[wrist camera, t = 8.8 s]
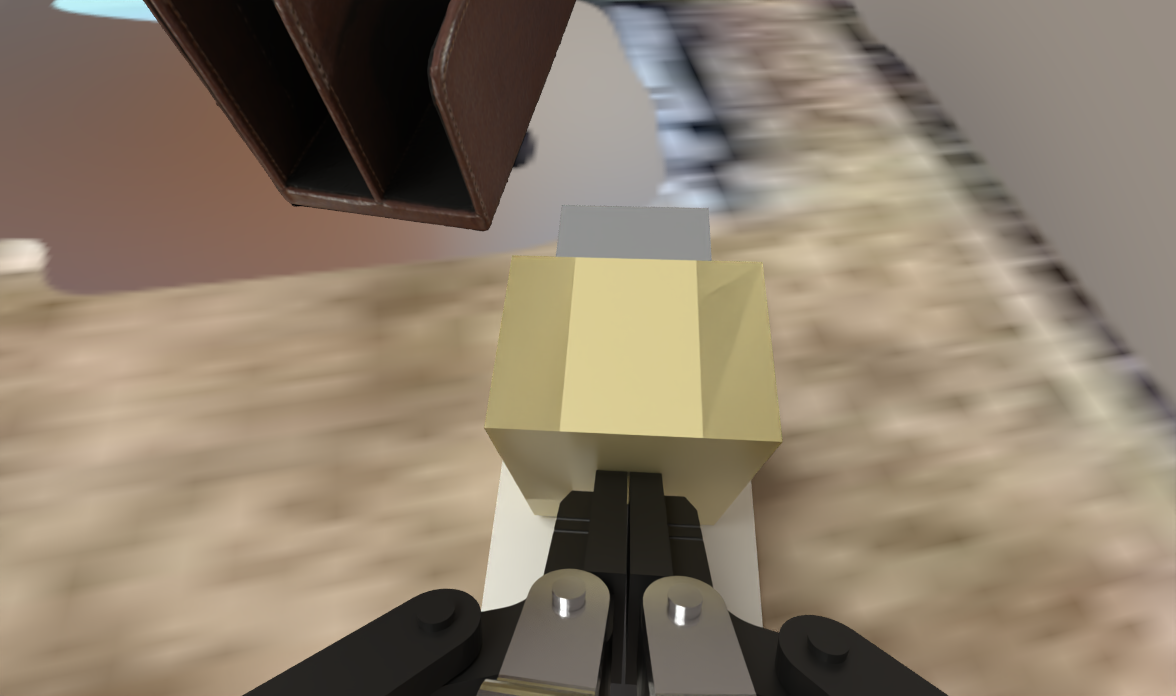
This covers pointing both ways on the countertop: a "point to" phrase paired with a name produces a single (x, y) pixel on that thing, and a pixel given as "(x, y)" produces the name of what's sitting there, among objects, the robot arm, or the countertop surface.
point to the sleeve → (634, 377)
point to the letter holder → (376, 95)
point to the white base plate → (529, 536)
